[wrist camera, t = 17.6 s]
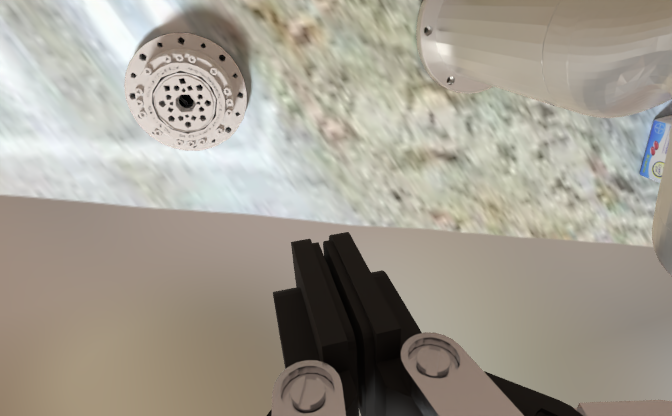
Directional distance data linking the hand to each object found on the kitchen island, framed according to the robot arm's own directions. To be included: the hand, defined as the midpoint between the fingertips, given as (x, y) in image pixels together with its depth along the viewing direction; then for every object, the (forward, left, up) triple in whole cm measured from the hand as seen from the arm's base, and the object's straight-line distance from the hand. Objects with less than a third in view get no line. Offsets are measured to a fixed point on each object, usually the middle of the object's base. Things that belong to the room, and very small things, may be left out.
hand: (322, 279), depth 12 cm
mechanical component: (+6, 0, -30) cm, 30 cm away
